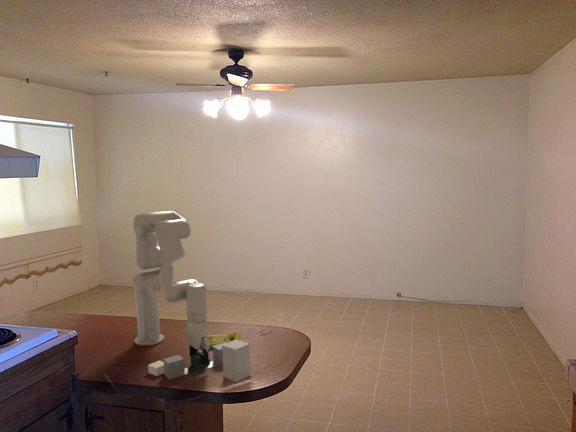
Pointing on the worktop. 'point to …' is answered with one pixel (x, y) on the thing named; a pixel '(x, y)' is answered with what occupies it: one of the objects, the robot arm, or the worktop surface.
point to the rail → (204, 368)
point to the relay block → (156, 368)
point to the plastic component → (223, 338)
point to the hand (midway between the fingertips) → (199, 359)
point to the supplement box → (236, 360)
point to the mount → (196, 363)
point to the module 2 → (218, 353)
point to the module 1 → (174, 367)
